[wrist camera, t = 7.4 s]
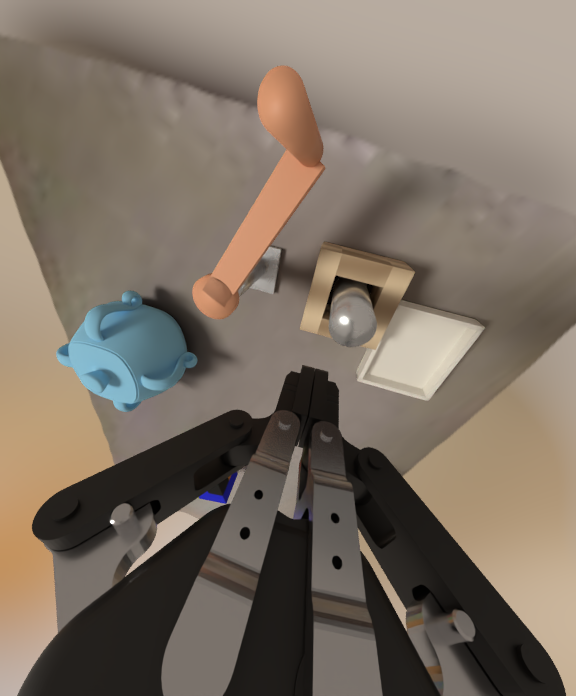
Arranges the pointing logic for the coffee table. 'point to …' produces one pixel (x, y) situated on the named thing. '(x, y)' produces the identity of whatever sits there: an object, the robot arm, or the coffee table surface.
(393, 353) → the tray
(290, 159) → the bar
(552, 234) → the coffee table surface
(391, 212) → the coffee table surface
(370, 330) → the silver metal cylinder
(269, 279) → the pivot post
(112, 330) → the decorative pot
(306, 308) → the block
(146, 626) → the robot arm
